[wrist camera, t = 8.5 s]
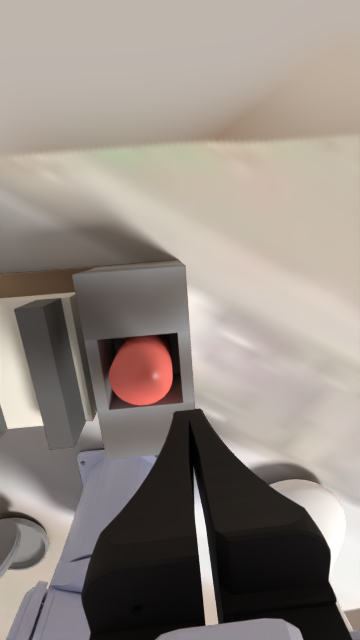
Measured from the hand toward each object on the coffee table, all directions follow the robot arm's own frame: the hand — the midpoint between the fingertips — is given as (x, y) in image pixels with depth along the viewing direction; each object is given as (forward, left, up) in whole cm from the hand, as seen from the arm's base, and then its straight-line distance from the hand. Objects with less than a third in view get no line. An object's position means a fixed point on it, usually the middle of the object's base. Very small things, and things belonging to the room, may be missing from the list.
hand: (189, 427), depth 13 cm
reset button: (+1, +2, -7) cm, 7 cm away
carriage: (+1, +11, -8) cm, 13 cm away
